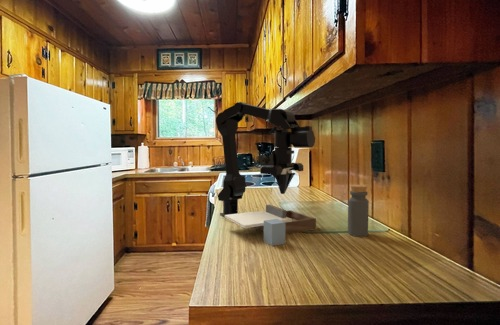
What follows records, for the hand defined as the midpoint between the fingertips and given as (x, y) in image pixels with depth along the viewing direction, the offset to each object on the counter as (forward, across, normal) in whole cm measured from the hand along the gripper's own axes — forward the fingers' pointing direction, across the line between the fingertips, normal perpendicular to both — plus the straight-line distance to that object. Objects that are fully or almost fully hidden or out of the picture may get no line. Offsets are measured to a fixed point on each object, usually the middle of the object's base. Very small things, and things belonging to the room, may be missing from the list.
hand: (282, 193), depth 101 cm
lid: (+7, +10, -3) cm, 13 cm away
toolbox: (+11, +2, +1) cm, 11 cm away
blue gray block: (+11, +16, +8) cm, 21 cm away
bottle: (+11, -6, +24) cm, 27 cm away
